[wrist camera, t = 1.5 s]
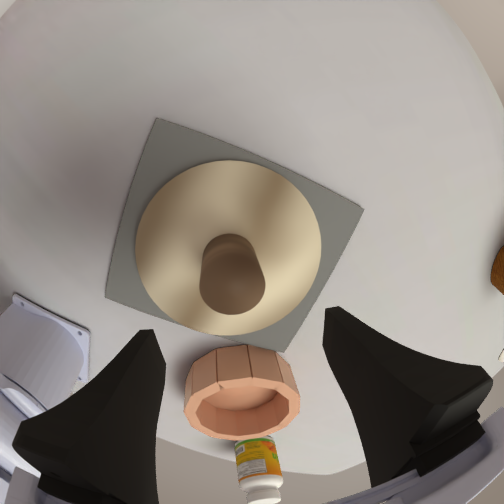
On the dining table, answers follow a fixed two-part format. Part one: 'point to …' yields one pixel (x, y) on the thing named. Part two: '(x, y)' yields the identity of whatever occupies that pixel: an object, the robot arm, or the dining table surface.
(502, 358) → the white tapered round cap
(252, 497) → the supplement bottle
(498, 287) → the disposable coffee cup
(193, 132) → the mat
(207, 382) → the bowl
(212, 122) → the dining table surface
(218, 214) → the lid
